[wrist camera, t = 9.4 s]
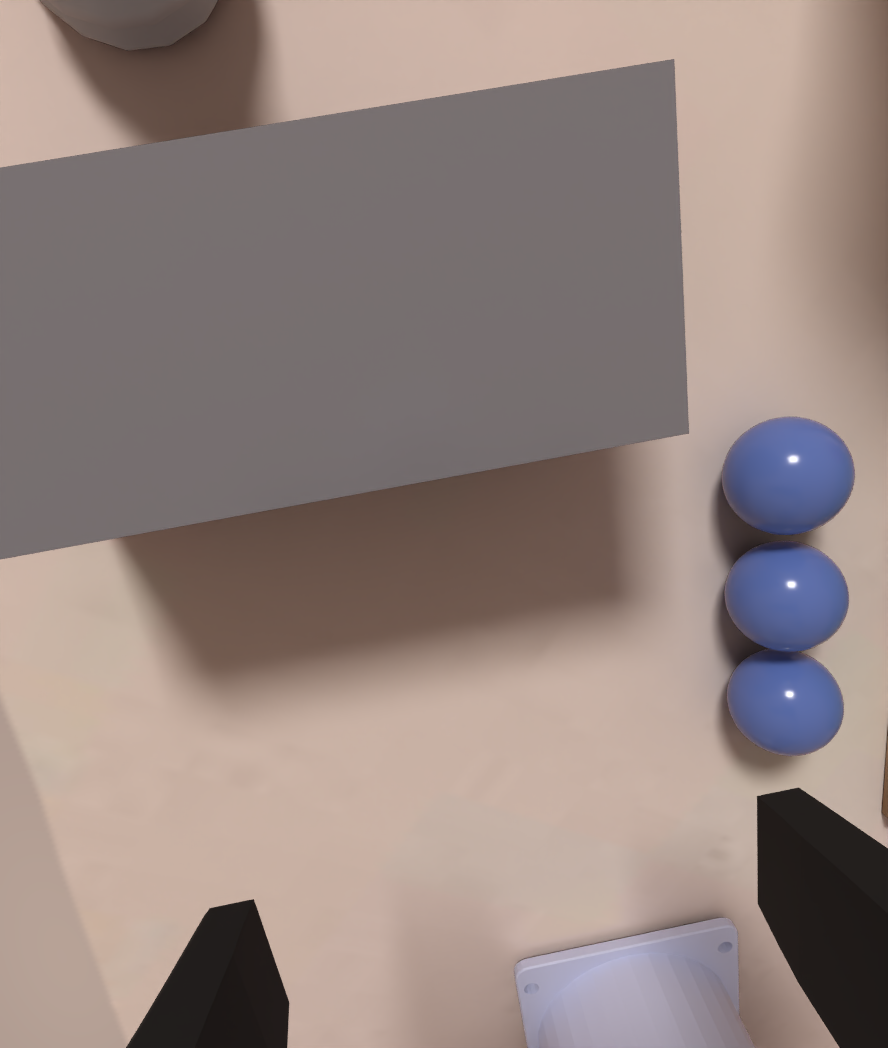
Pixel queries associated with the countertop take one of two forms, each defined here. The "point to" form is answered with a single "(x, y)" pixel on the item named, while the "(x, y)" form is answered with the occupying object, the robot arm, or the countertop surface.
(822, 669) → the marble
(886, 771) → the cork trivet
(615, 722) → the countertop surface
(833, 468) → the marble
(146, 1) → the rook chess piece
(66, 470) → the gray block
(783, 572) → the marble
